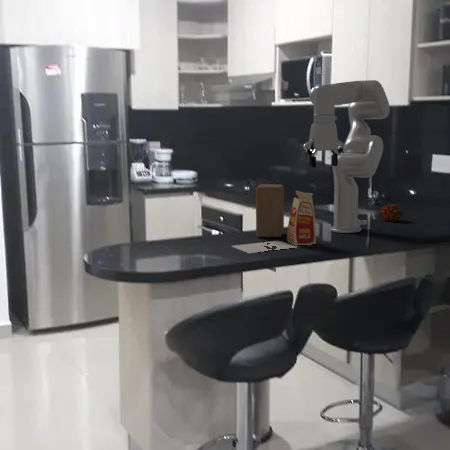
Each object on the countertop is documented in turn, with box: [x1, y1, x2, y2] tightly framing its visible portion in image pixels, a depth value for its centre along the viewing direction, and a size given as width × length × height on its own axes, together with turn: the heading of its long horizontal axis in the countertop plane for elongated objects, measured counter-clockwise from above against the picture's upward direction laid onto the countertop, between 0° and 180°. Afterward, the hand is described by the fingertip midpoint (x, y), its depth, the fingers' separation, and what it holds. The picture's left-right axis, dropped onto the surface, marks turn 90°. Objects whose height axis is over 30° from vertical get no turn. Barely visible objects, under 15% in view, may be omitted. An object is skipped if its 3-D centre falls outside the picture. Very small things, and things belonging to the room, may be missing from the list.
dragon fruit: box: [378, 203, 404, 222], centre depth 286 cm, size 8×8×12 cm
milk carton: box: [286, 189, 317, 247], centre depth 239 cm, size 9×9×20 cm
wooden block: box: [255, 183, 285, 238], centre depth 255 cm, size 10×10×20 cm
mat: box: [231, 240, 298, 255], centre depth 234 cm, size 20×14×1 cm
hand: (323, 166), depth 240 cm, fingers open, 9 cm apart
